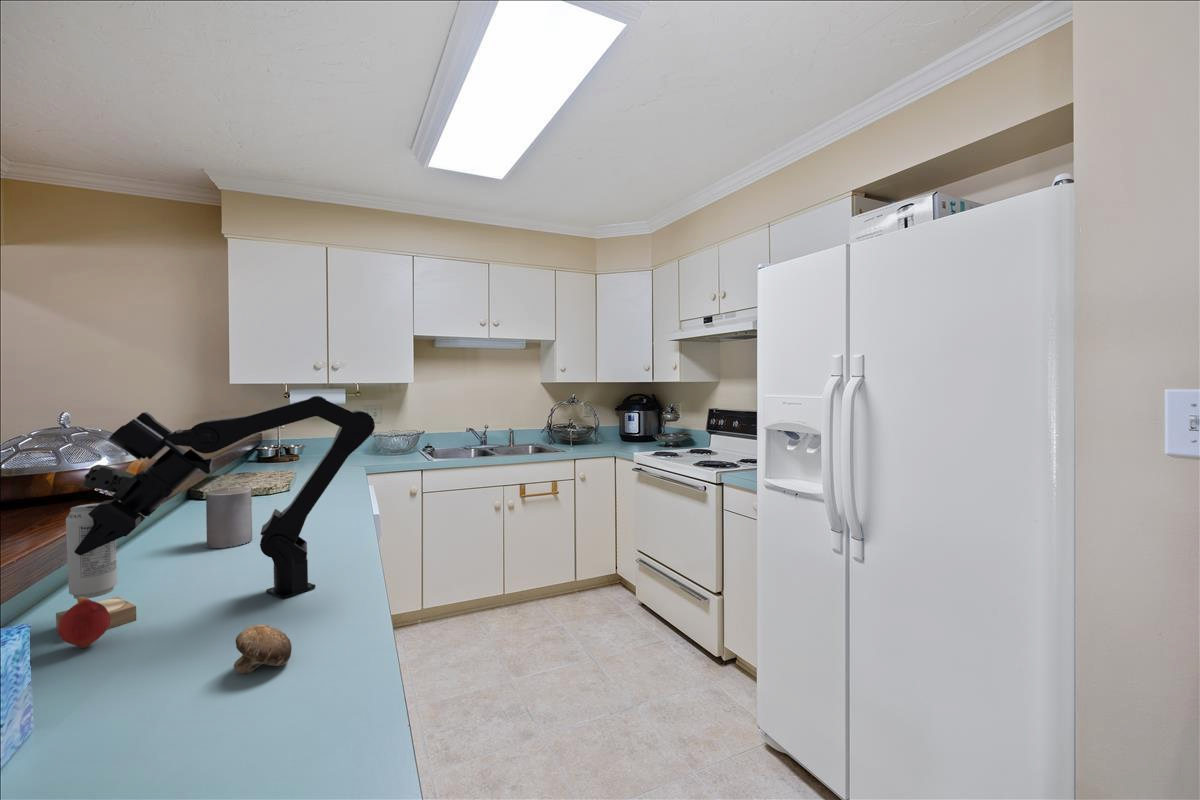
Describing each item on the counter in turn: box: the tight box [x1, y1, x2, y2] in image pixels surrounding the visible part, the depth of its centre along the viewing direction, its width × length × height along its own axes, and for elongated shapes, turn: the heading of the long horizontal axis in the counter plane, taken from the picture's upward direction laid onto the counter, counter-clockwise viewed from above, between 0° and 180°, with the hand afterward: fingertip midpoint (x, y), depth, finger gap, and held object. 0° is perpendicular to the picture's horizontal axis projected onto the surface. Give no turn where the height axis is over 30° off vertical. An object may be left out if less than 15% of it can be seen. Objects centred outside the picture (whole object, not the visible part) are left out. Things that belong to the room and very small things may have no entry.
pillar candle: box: [205, 485, 253, 549], centre depth 136 cm, size 10×10×15 cm
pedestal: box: [55, 596, 137, 630], centre depth 90 cm, size 8×8×3 cm
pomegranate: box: [57, 597, 111, 649], centre depth 82 cm, size 6×6×8 cm
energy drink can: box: [65, 502, 119, 600], centre depth 90 cm, size 6×6×15 cm
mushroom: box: [233, 624, 292, 675], centre depth 77 cm, size 8×8×6 cm
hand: (83, 548), depth 90 cm, fingers closed on energy drink can, 6 cm apart
